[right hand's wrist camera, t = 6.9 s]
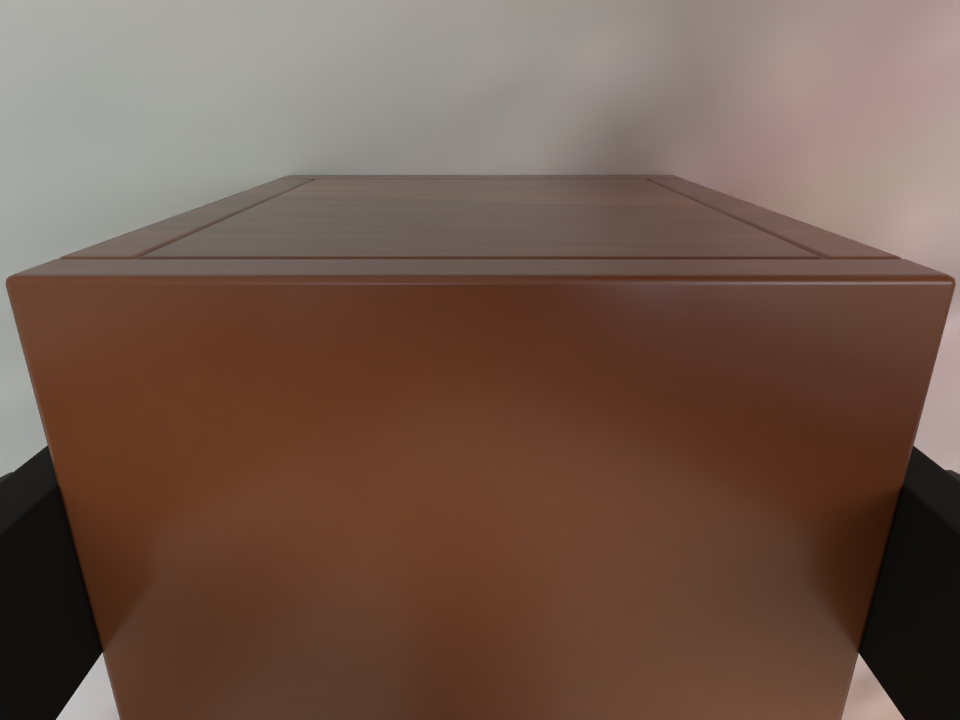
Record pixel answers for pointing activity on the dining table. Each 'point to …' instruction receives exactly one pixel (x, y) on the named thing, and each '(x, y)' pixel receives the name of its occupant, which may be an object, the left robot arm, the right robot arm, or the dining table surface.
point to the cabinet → (480, 448)
